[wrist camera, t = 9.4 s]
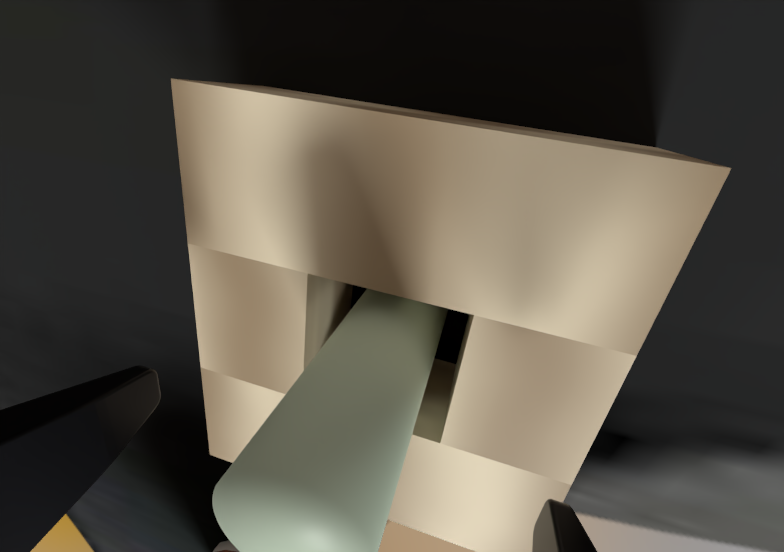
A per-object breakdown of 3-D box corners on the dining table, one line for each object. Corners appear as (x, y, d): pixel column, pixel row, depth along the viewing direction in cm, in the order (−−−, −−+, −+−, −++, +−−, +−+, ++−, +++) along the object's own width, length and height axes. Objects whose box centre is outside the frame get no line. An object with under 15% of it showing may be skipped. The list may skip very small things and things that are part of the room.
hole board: (656, 147, 11) (730, 168, 7) (523, 469, 16) (528, 570, 13) (263, 85, 13) (170, 78, 9) (267, 387, 18) (209, 454, 15)
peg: (456, 272, 14) (385, 508, 6) (440, 342, 15) (364, 614, 7) (375, 253, 14) (205, 445, 6) (367, 322, 15) (217, 553, 7)
